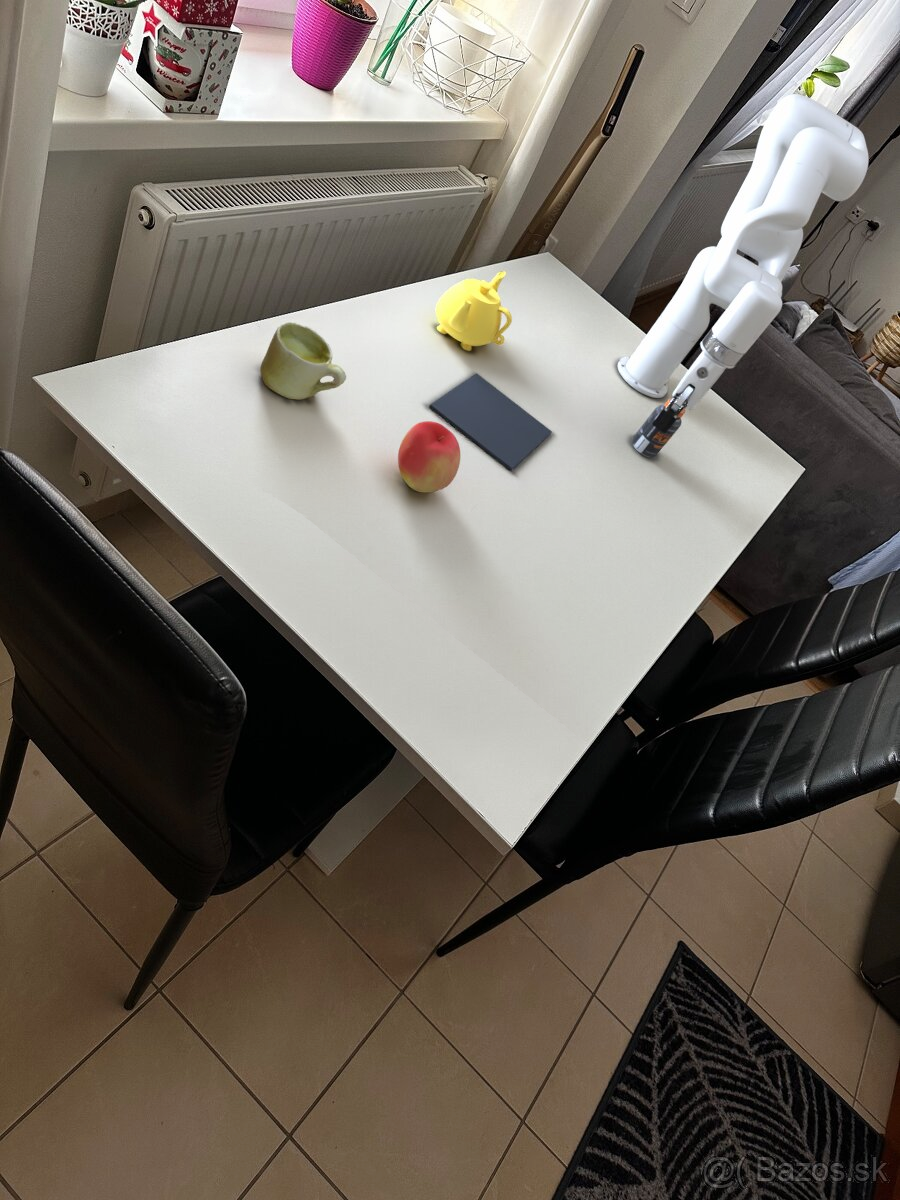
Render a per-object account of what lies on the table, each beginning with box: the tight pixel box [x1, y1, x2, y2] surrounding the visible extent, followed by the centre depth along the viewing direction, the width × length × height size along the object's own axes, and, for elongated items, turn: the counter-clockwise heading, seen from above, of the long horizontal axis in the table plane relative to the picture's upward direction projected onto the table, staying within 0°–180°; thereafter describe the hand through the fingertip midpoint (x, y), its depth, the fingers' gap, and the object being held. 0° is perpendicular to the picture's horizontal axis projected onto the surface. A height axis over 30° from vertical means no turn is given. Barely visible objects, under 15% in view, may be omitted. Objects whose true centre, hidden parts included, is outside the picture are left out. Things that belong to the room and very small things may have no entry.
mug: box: [260, 321, 347, 400], centre depth 131 cm, size 12×10×10 cm
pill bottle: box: [631, 398, 687, 458], centre depth 168 cm, size 6×6×11 cm
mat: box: [428, 372, 553, 472], centre depth 153 cm, size 18×18×1 cm
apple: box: [397, 420, 461, 493], centre depth 129 cm, size 10×10×10 cm
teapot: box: [435, 270, 513, 352], centre depth 164 cm, size 20×15×12 cm
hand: (664, 421), depth 167 cm, fingers open, 6 cm apart
